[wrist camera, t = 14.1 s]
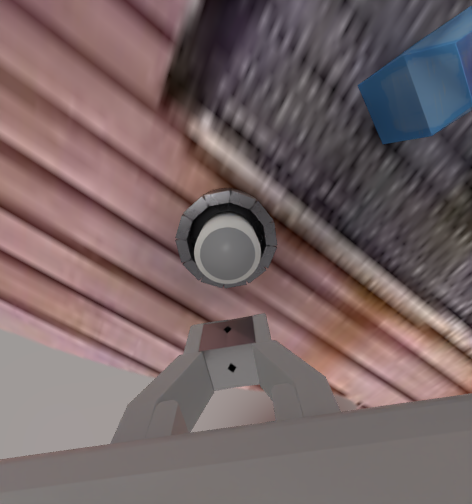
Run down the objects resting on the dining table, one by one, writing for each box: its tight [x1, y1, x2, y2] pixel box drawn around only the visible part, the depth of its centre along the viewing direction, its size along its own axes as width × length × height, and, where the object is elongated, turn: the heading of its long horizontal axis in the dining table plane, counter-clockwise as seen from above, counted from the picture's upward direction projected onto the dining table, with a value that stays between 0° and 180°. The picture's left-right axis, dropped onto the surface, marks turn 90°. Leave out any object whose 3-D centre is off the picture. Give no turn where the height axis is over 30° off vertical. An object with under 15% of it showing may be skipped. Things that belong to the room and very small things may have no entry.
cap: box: [194, 211, 261, 284], centre depth 21 cm, size 5×5×5 cm
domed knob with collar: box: [175, 188, 277, 288], centre depth 24 cm, size 9×9×5 cm
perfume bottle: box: [358, 6, 472, 144], centre depth 17 cm, size 6×6×12 cm
